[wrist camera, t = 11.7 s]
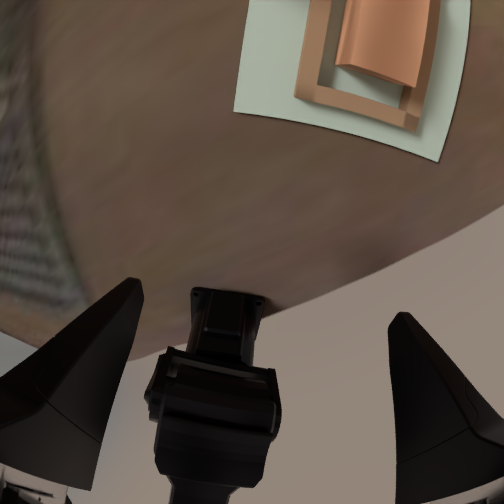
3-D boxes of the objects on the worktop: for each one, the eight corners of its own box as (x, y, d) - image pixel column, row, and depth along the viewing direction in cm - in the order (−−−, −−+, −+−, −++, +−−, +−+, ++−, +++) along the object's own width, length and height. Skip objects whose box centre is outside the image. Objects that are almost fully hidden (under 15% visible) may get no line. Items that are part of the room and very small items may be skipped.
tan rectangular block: (405, -21, 8) (431, -33, 5) (388, 82, 13) (415, 87, 10) (351, -42, 8) (368, -61, 5) (334, 64, 13) (350, 63, 10)
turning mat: (434, 160, 16) (446, 168, 14) (234, 110, 15) (230, 114, 14) (467, -22, 6) (479, -25, 5) (269, -93, 5) (269, -104, 4)
